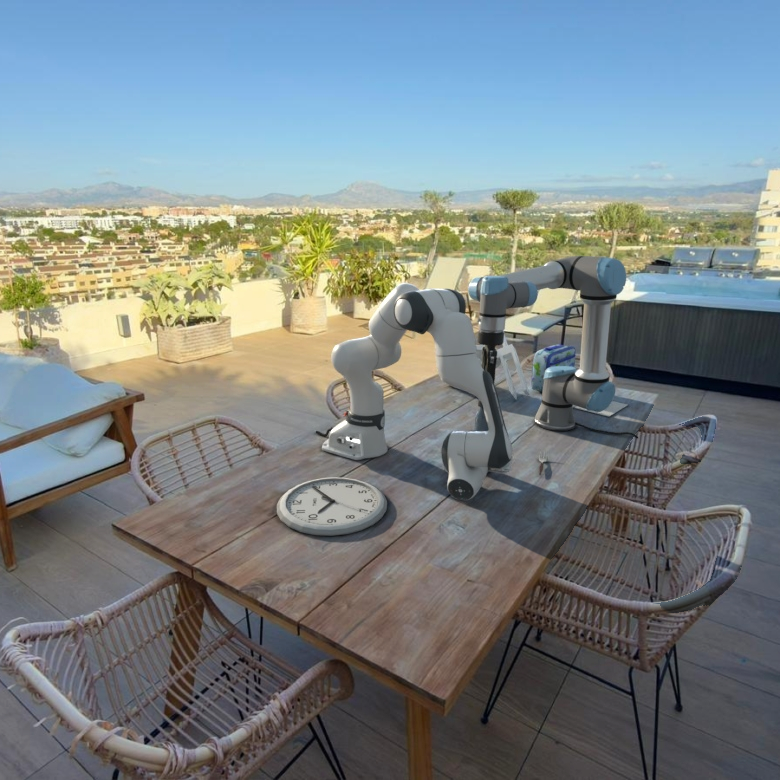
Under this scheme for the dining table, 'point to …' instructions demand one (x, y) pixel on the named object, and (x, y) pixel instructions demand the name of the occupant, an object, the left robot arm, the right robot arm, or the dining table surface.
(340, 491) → the wall clock
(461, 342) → the left robot arm
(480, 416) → the bottle
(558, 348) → the lunch box
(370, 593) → the dining table surface
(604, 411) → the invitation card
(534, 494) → the dining table surface
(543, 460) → the fork
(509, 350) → the white plastic object
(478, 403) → the cap
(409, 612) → the dining table surface
